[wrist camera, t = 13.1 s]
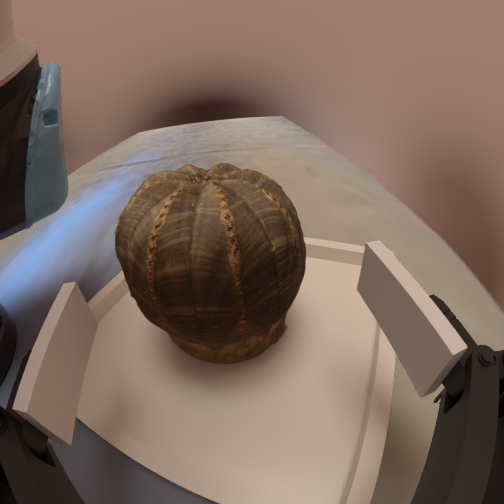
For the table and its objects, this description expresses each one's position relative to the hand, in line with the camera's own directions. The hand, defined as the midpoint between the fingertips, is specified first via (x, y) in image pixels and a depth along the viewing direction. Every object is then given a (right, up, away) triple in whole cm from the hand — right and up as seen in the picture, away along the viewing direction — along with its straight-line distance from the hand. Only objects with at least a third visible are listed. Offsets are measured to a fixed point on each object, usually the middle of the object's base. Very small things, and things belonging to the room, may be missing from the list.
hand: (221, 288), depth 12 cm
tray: (0, -5, +9) cm, 10 cm away
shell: (-1, -4, +9) cm, 10 cm away
